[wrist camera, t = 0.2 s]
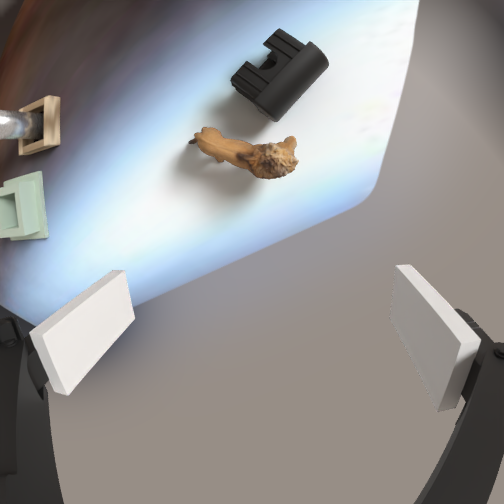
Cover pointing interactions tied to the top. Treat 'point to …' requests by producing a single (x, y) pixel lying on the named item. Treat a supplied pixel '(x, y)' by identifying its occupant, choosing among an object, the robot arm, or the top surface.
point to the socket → (23, 208)
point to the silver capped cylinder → (21, 125)
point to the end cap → (280, 74)
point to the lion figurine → (249, 153)
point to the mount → (50, 125)
